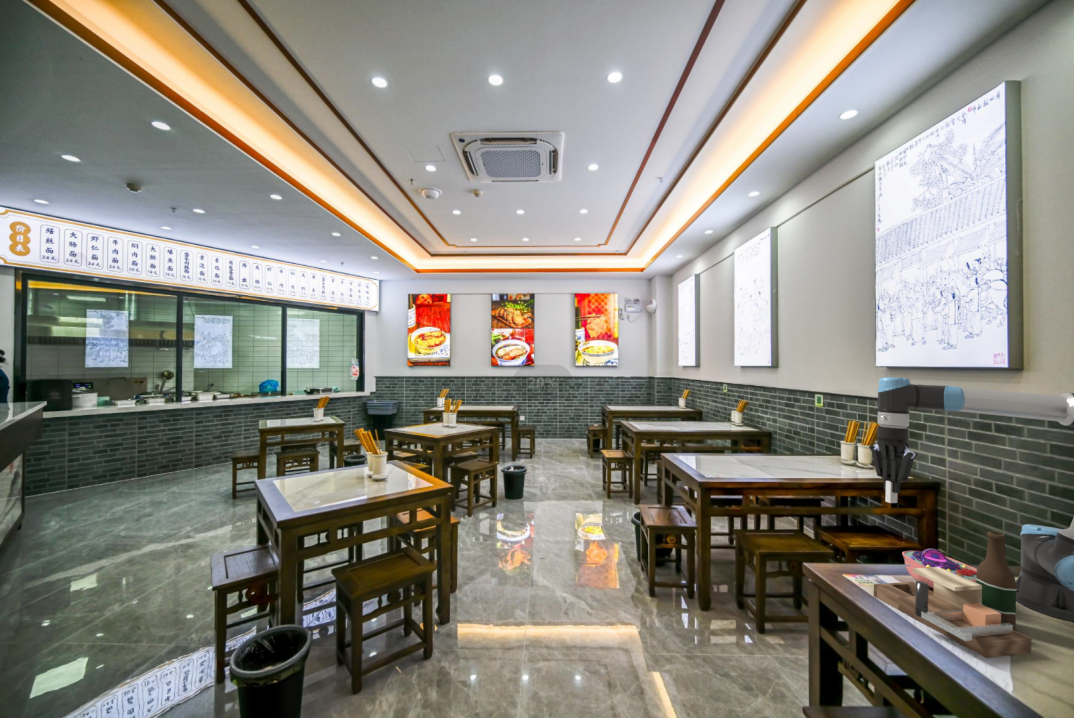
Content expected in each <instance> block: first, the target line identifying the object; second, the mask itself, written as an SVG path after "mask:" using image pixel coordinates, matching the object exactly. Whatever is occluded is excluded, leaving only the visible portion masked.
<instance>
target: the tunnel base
mask: <svg viewBox="0 0 1074 718" xmlns="http://www.w3.org/2000/svg"><path fill="white" fill-rule="evenodd" d="M933 591H934V590H933ZM933 591H932V590H930V589H929V590H928V611H929V612H936V611H947V610H959V609H960V608H958V607H956V606H954V605H952V604H950V603H947V602H945V601H943V600H941V599H939V598H937V597H935V596H933ZM873 597H874V598H876V599H878V600H880V601H881V600H882V602H883V603H885V604H887V605H889V606H890V607H892V608H894V609H896V610H898V611H899V612H902V613H904V614H905V615H907V616H909V617H911V618H913V619H914V620H916V621H918V622H920V623H921V624H923V625H925V626H927V627H929V628H930V629H932V630H934V631H936V632H938V633H939V634H941V635H943V636H945V637H947V638H948V639H950V640H953V641H955V642H956V643H958V644H960V645H961V646H963V647H965V648H967V649H968V650H970V651H972V652H974V653H976V654H978V656H981V657H983V658H984V659H985V658H986V659H991V658H999V657H1008V656H1015V655H1016V656H1017V655H1025V654H1026V655H1027V654H1031V653H1032V637H1029V636H1028V635H1026V634H1023V633H1021V632H1019V631H1017V630H1016V629H1015V630H1013V633H1009V634H999V635H989V636H979V637H972V640H971V641H964V640H962V639H961V638H959V637H957V636H955V635H953V634H951V633H949V632H948V631H946V630H944V629H942V628H940V627H938V626H937V625H935V624H933V623H931V622H929V621H927V620H925V619H924V618H922V617H919V616H917V615H916V614H915V599H916V582H914V581H905V582H903V581H902V582H889V583H887V582H886V583H875V584H873ZM948 622H950V623H952V624H954V625H956V626H958V627H969V626H973V625H971V624H969V623H967V622H965V621H963V619H960V620H949V621H948Z"/></svg>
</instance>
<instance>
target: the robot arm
mask: <svg viewBox="0 0 1074 718" xmlns="http://www.w3.org/2000/svg"><path fill="white" fill-rule="evenodd" d="M910 381H911V380H910V378H908V377H894V376H893V377H889V376H885V377H884V376H883V377H880V378H879V380H878V386H877V387H878V389H877V424H878V426H877V429H876V431H877V432H876V433H877V434H876V436H877V438H878V439H877V441H876V443H874V444H869V446H868V447H869V449H870V451H871V453H872V458H873V463H874V467H875V472H876V476H877V477H879V478H882V480H883V490H884V491H885V497H884V498H885V499H884V500H885V502H886V503H889V504H897V503H898V494H900V493H901V483H903V482H904V483H905V482H908V481H909V476H910V474H911V471H912V467H913V464H914V460H915V459H916V458H917V457H918V453H917V452H915V451H913V450H911V449H910V447H909V444H908V441H909V439H910V437H909V435H910V434H909V433H910V430H909V429H908V427H909V426H910V409H912V410H916V409H917V410H929V411H940V412H941V411H943V412H944V411H945V412H962V413H971V414H972V413H973V414H980V415H981V414H983V415H992V416H1003V417H1011V418H1012V417H1013V418H1021V419H1031V420H1042V421H1051V422H1058V423H1059V424H1060V425H1062V426H1067V427H1074V392H1063V393H1061V394H1060V395H1058V394H1057V395H1055V394H1044V393H1043V394H1041V393H1030V392H1019V391H1005V390H991V389H982V388H980V389H977V388H969V387H968V388H967V387H966V388H964V387H960V386H954V385H941V384H937V385H934V384H932V385H931V384H913V383H911V382H910ZM1019 535H1020V573H1019V575H1018V577H1017V578H1016V579H1015V581H1016V603H1018V604H1020V605H1023V606H1024V607H1027V608H1030V609H1031V610H1033V611H1036V612H1038V613H1042V614H1044V615H1048V616H1050V617H1054V618H1057V619H1061V620H1065V621H1070V622H1074V517H1073V518H1072V521H1071V523H1070V526H1069V527H1068V528H1064V529H1062V528H1057V527H1052V526H1051V527H1050V526H1046V525H1041V524H1040V525H1038V524H1032V523H1030V524H1029V523H1027V524H1023V525H1022V526H1021V532H1020V534H1019Z"/></svg>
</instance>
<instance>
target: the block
mask: <svg viewBox="0 0 1074 718" xmlns="http://www.w3.org/2000/svg"><path fill="white" fill-rule="evenodd" d="M963 621H965V622H967V623H969V624H971V625H973V626H980V625H990V624H1001V613H999V612H997V611H994V610H992V609H990V608H988V607H986V606H983V605H981V604H979V603H976V604H964V605H963Z"/></svg>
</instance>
